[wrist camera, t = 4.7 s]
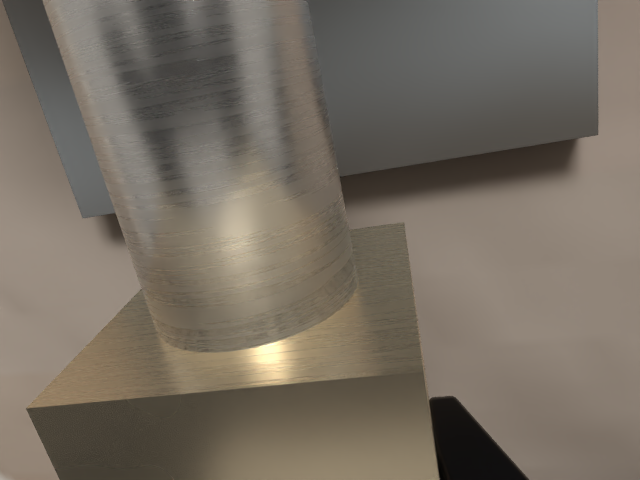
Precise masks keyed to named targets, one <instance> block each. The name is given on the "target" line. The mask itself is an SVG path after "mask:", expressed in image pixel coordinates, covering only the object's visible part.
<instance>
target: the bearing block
mask: <svg viewBox="0 0 640 480" xmlns="http://www.w3.org/2000/svg"><path fill="white" fill-rule="evenodd" d="M2 1H3V4H4V7H5V10H6V12H7V15H8V18H9V20H10V23H11V26H12V29H13V31H14V34H15V37H16V39H17V42H18V45H19V47H20V50H21V53H22V56H23V58H24V61H25V64H26V66H27V69H28V72H29V75H30V77H31V80H32V83H33V85H34V88H35V91H36V93H37V96H38V99H39V102H40V104H41V107H42V110H43V112H44V115H45V118H46V120H47V123H48V126H49V129H50V131H51V134H52V137H53V139H54V142H55V145H56V148H57V150H58V153H59V156H60V158H61V161H62V164H63V166H64V169H65V172H66V175H67V177H68V180H69V183H70V185H71V188H72V191H73V194H74V196H75V199H76V202H77V204H78V207H79V210H80V212H81V215H82V218H88V217H94V216H100V215H106V214H112V213H115V210H114V207H113V204H112V201H111V198H110V195H109V192H108V189H107V187H106V184H105V181H104V178H103V175H102V172H101V169H100V166H99V163H98V160H97V158H96V155H95V152H94V149H93V146H92V143H91V140H90V137H89V134H88V131H87V129H86V126H85V123H84V120H83V117H82V114H81V111H80V108H79V105H78V102H77V100H76V97H75V94H74V91H73V88H72V85H71V82H70V79H69V76H68V74H67V71H66V68H65V65H64V62H63V59H62V56H61V53H60V50H59V47H58V45H57V42H56V39H55V36H54V33H53V30H52V27H51V24H50V21H49V18H48V16H47V13H46V10H45V7H44V4H43V1H42V0H2ZM308 6H309V11H310V17H311V22H312V28H313V33H314V39H315V44H316V50H317V55H318V61H319V66H320V72H321V77H322V83H323V88H324V94H325V99H326V105H327V110H328V116H329V121H330V127H331V132H332V138H333V143H334V149H335V154H336V160H337V165H338V171H339V176H340V177H341V176H347V175H354V174H360V173H366V172H372V171H378V170H385V169H391V168H397V167H403V166H409V165H415V164H422V163H428V162H434V161H440V160H446V159H453V158H459V157H465V156H471V155H477V154H483V153H490V152H496V151H502V150H508V149H514V148H521V147H527V146H533V145H539V144H545V143H551V142H558V141H564V140H570V139H576V138H582V137H589V136H595V135H598V0H308Z"/></svg>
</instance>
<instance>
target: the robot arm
mask: <svg viewBox="0 0 640 480" xmlns="http://www.w3.org/2000/svg"><path fill="white" fill-rule="evenodd" d="M429 403H430V410H431V418H432V425H433V433H434V440H435V447H436V455H437V462H438V469H439V476H440V480H529V479H528V478H527V477H526V476H525V474H524V473H523V472H522V471H521V470H520V469H519V468H518V467H517V466H516V464H515V463H514V462H513V461H512V460H511V459H510V458H509V457H508V455H507V454H506V453H505V452H504V451H503V450H502V449H501V448H500V447H499V445H498V444H497V443H496V442H495V441H494V440H493V439H492V438H491V436H490V435H489V434H488V433H487V432H486V431H485V430H484V429H483V428H482V426H481V425H480V424H479V423H478V422H477V421H476V420H475V419H474V417H473V416H472V415H471V414H470V413H469V412H468V411H467V410H466V408H465V407H464V406H463V405H462V404H461V403H460V402H459V401H458V400H457V399H456V398H455V397H453V396H445V397H433V398H431V399H430V400H429Z"/></svg>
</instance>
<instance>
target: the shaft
mask: <svg viewBox="0 0 640 480" xmlns="http://www.w3.org/2000/svg"><path fill="white" fill-rule="evenodd" d="M42 1H43V4H44V7H45V10H46V13H47V16H48V18H49V21H50V24H51V27H52V30H53V33H54V36H55V39H56V42H57V45H58V47H59V50H60V53H61V56H62V59H63V62H64V65H65V68H66V71H67V74H68V76H69V79H70V82H71V85H72V88H73V91H74V94H75V97H76V100H77V102H78V105H79V108H80V111H81V114H82V117H83V120H84V123H85V126H86V129H87V131H88V134H89V137H90V140H91V143H92V146H93V149H94V152H95V155H96V158H97V160H98V163H99V166H100V169H101V172H102V175H103V178H104V181H105V184H106V187H107V189H108V192H109V195H110V198H111V201H112V204H113V207H114V210H115V213H116V216H117V218H118V221H119V224H120V227H121V230H122V233H123V236H124V239H125V242H126V244H127V247H128V250H129V253H130V256H131V259H132V262H133V265H134V268H135V271H136V273H137V276H138V279H139V282H140V285H141V288H142V289H141V290H140V291H139V292H138V293H137V294H136V295H135V296H134V297H133V298H132V299H131V300H130V301H129V302H128V303H127V304H126V305H125V306H124V308H123V309H122V310H121V311H120V312H119V313H118V314H117V315H116V316H115V317H114V318H113V319H112V320H111V321H110V322H109V323H108V324H107V325H106V326H105V327H104V328H103V329H102V330H101V331H100V332H99V333H98V334H97V335H96V337H95V338H94V339H93V340H92V341H91V342H90V343H89V344H88V345H87V346H86V347H85V348H84V349H83V350H82V351H81V352H80V353H79V354H78V355H77V356H76V357H75V358H74V359H73V360H72V361H71V362H70V363H69V365H68V366H67V367H66V368H65V369H64V370H63V371H62V372H61V373H60V374H59V375H58V376H57V377H56V378H55V379H54V380H53V381H52V382H51V383H50V384H49V385H48V386H47V387H46V388H45V389H44V390H43V391H42V392H41V394H40V395H39V396H38V397H37V398H36V399H35V400H34V401H33V402H32V403H31V404H30V405H29V406H28V407H27V408H26V409H27V411H28V413H29V416H30V418H31V420H32V422H33V424H34V426H35V428H36V430H37V432H38V435H39V437H40V439H41V441H42V443H43V445H44V447H45V449H46V451H47V454H48V456H49V458H50V460H51V462H52V464H53V466H54V468H55V470H56V473H57V475H58V477H59V479H60V480H440V476H439V469H438V462H437V455H436V447H435V440H434V433H433V425H432V418H431V410H430V403H429V395H428V388H427V381H426V374H425V367H424V360H423V353H422V346H421V339H420V332H419V325H418V318H417V311H416V304H415V297H414V290H413V283H412V276H411V269H410V262H409V255H408V248H407V241H406V234H405V227H404V222H403V223H396V224H389V225H382V226H375V227H368V228H361V229H354V230H349V225H348V220H347V214H346V209H345V204H344V198H343V193H342V187H341V182H340V176H339V171H338V165H337V160H336V154H335V149H334V143H333V138H332V132H331V127H330V121H329V116H328V110H327V105H326V99H325V94H324V88H323V83H322V77H321V72H320V66H319V61H318V55H317V50H316V44H315V39H314V33H313V28H312V22H311V17H310V11H309V6H308V0H42Z"/></svg>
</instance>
